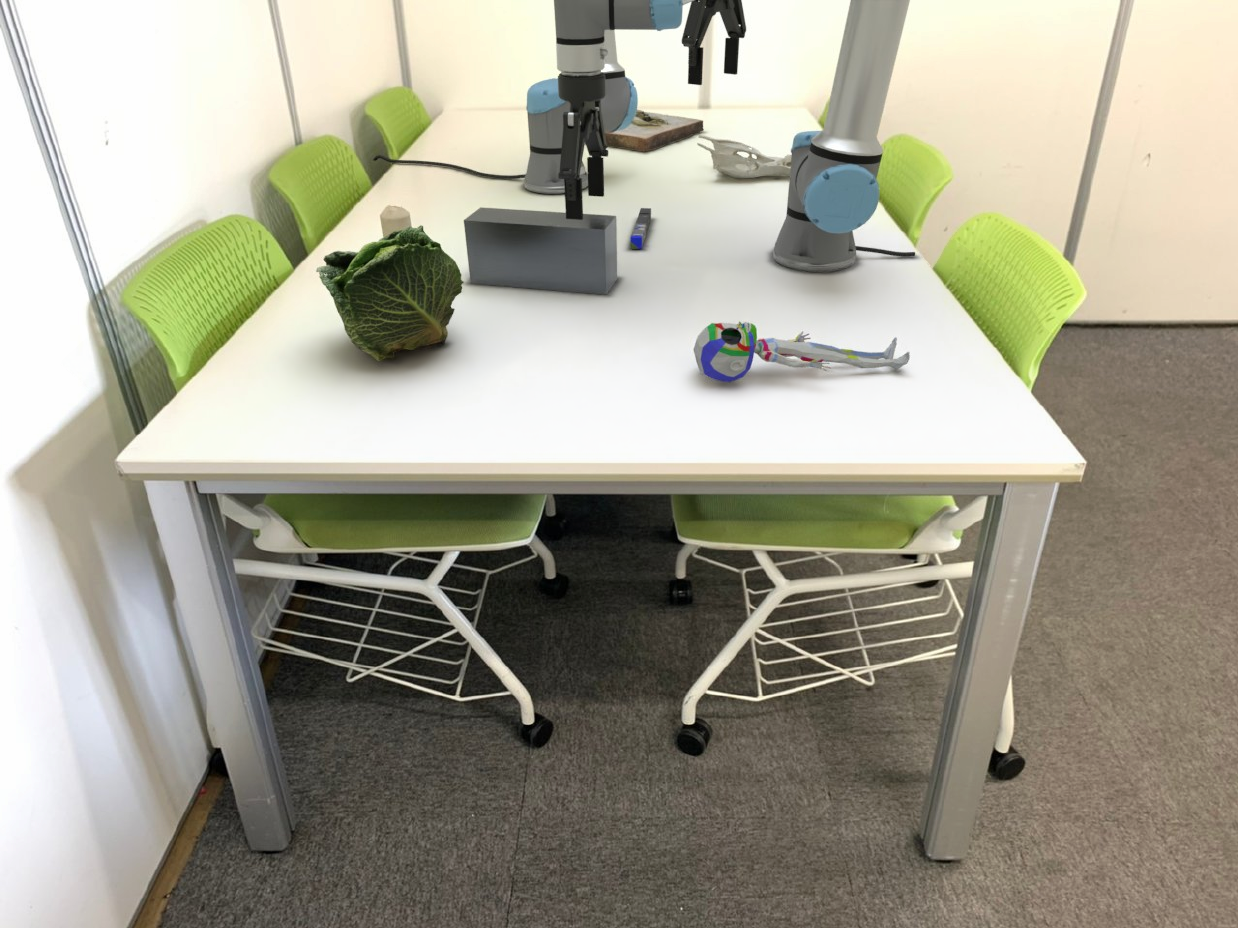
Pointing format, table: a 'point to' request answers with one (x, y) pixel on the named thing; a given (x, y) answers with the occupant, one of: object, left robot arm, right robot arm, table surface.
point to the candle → (394, 219)
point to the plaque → (653, 131)
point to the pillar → (640, 228)
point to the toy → (775, 352)
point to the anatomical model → (744, 160)
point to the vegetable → (394, 292)
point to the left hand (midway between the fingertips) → (713, 79)
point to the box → (542, 250)
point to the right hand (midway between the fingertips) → (585, 207)
